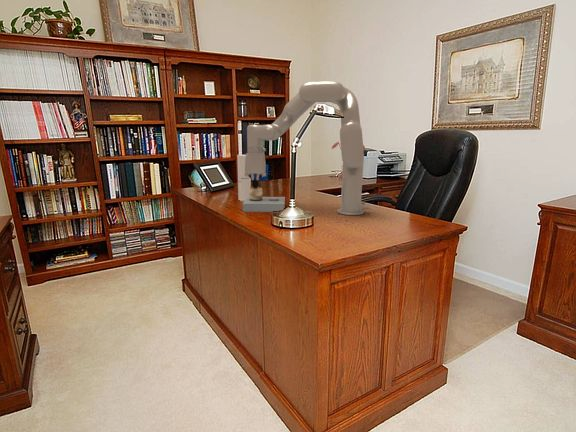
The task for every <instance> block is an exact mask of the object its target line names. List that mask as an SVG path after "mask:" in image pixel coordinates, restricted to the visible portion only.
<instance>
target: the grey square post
mask: <svg viewBox="0 0 576 432" xmlns="http://www.w3.org/2000/svg"><path fill="white" fill-rule="evenodd" d="M245 158H246V154H237V156H236V159H237V162H236V163H237V191H238V192H237V195H238V197H237V198H238V201H239V200H240V202H244V201H245V199H246V198H247V197H250V189H249V188H252V185H251V184H252V182H251V181H252V179H251V178H250V177H248V176H245Z"/></svg>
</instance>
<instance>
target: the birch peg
mask: <svg viewBox="0 0 576 432" xmlns="http://www.w3.org/2000/svg"><path fill="white" fill-rule="evenodd" d="M249 189H250V201H262V200H263V198H262V197H263V187H259V186H257V188H254V186H252V187H251V188H249Z"/></svg>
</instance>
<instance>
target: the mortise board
mask: <svg viewBox="0 0 576 432" xmlns="http://www.w3.org/2000/svg"><path fill="white" fill-rule="evenodd" d="M262 198H263V200H262V201H250V197H247V198H246V199H245V201H242V202H243V203H242V212H247V213H248V212H249V213H250V212H252V213H253V212H255V213H274V212H273V211H279V210H283V209H284V208H285V207H286V206H285V205H286V197H285V196H262ZM284 210H285V209H284Z"/></svg>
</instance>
